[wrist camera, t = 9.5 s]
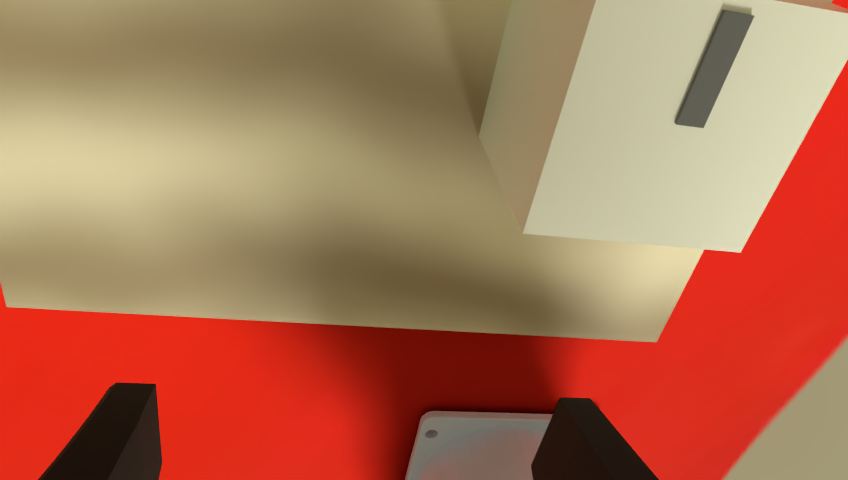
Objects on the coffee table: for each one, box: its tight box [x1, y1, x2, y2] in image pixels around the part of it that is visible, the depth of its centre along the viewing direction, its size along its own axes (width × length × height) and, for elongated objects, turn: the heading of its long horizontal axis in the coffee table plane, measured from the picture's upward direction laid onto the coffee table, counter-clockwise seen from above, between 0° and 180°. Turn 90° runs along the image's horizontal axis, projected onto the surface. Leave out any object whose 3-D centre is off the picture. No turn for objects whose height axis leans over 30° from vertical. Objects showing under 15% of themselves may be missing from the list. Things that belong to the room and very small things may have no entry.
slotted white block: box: [479, 0, 848, 252], centre depth 14 cm, size 5×5×5 cm
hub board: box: [0, 0, 833, 342], centre depth 16 cm, size 16×22×4 cm
